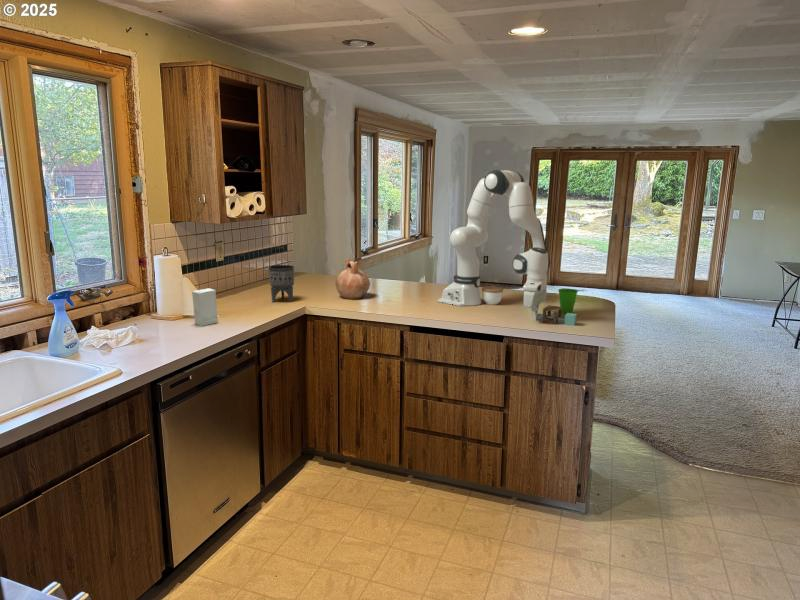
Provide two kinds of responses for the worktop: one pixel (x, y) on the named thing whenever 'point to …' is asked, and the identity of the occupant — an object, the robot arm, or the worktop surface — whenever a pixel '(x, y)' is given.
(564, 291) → the cup
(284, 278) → the planter
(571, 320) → the block
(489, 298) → the lidded jar
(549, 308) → the cover
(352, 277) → the jug
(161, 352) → the worktop surface
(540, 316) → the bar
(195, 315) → the skincare box
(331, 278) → the worktop surface
